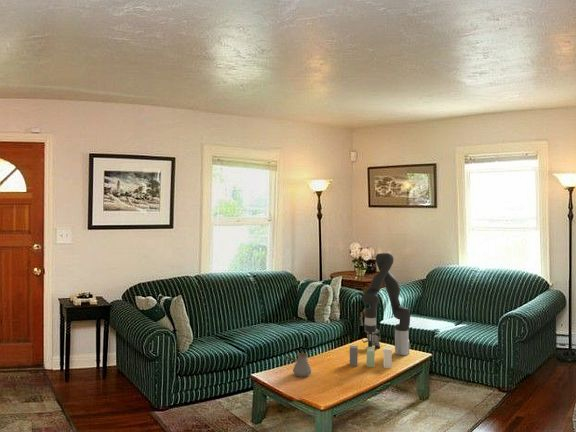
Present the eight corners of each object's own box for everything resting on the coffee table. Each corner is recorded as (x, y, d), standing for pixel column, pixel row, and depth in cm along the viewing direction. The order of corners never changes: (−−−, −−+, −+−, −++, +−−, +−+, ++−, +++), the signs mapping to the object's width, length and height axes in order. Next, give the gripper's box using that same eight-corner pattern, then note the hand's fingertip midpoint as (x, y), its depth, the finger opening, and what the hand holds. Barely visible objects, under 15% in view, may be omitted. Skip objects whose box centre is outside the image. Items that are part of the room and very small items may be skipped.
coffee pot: (300, 370, 322) (300, 347, 321) (315, 374, 314) (315, 350, 313) (278, 379, 305) (278, 355, 305) (293, 384, 298) (293, 359, 297)
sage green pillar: (366, 361, 334) (366, 346, 330) (374, 362, 333) (374, 346, 329) (366, 366, 329) (366, 351, 325) (374, 367, 328) (374, 351, 324)
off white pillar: (383, 365, 332) (383, 347, 332) (391, 365, 332) (391, 347, 331) (383, 367, 327) (383, 349, 327) (391, 368, 327) (391, 349, 326)
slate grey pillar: (349, 363, 336) (350, 345, 335) (357, 363, 335) (357, 345, 334) (349, 365, 331) (349, 347, 330) (357, 366, 330) (357, 348, 330)
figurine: (370, 345, 376) (370, 325, 376) (381, 349, 367) (381, 328, 366) (361, 347, 371) (361, 327, 370) (373, 351, 362) (373, 330, 361)
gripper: (364, 321, 338) (364, 346, 339) (364, 326, 325) (364, 352, 326) (376, 321, 337) (375, 347, 337) (376, 326, 324) (375, 353, 324)
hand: (370, 349), depth 331 cm, fingers closed
